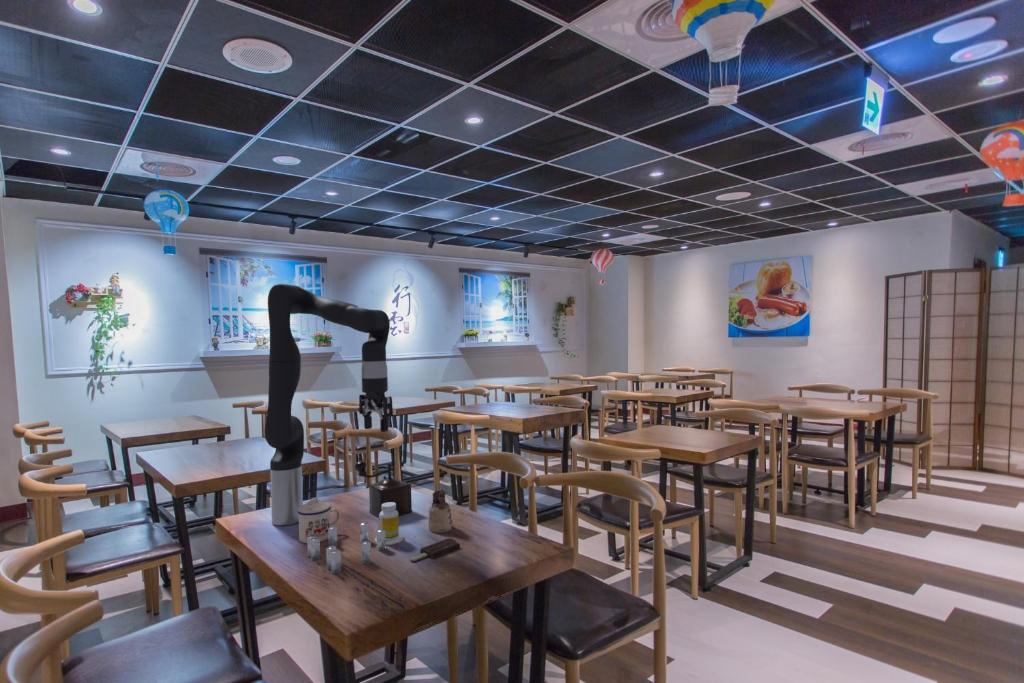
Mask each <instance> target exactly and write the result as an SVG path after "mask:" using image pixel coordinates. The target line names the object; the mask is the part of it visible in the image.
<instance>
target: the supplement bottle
mask: <svg viewBox="0 0 1024 683" xmlns="http://www.w3.org/2000/svg"><path fill="white" fill-rule="evenodd" d="M381 509H382V511H381V512H380V514H379V518H378V519H379V520H378V524H379V527H378V530H379V529H385V530H386V541H391V540H394V539H396V538H398V536H399V533H400V530H399V516H398V511H397V510H395V509H396V503H394V502H387V503H383V504H382V508H381Z"/></svg>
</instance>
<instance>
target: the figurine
mask: <svg viewBox="0 0 1024 683" xmlns="http://www.w3.org/2000/svg"><path fill="white" fill-rule="evenodd" d="M451 509H452V508H451V506H450V504H449V503H448V502H446V490H444V489H443V488H438V489H436V490H434V492H432V502H431V506H430V507H429V511H428V512H429V513H428V514H429V515H428V530H429V532H432V533H436V534H437V533H438V534H441V533H448V532H450V531H452V529H453V518H452V517H453V516H452V511H451Z"/></svg>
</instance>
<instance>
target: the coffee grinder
mask: <svg viewBox="0 0 1024 683" xmlns="http://www.w3.org/2000/svg"><path fill="white" fill-rule="evenodd" d="M353 466H354V470H355V471H357V472H358V477H363V478H366V479H371V478H376V477H379V476H381V475H383V474H386V473H387V472H388V476H387V477H386V476H385V475H384V476H383V479H382V480H380V481H377V482H376V483H371V484H369V487H368V491H369V492H368V493H369V494H368V495H369V496H368V497H369V510H368V512H369V513H370V514H371V515H373V516H375V517H376V518H378V519H379V514H380V512H381V511H382V509H381V508H382V504H383V503H387V502H394V503H396V509H395V510H397V511H398V517H401V516H405V515H407V514H411V513H412V512H413V510H412V508H413V505H412V504H413V503H412V485H411V484H410V483H408V482H405V481H403V480H400V479H397V478H394V477H392V470H393V468H392V463H391V462H388V463H387V467H386V469H384V470H382V471H379V472H376V473H373V474H369V475H368V474H367V473H368V472H367V471H366V470H367V469H366V468H367V463H366V461H364V460H359V461H356V463H354V465H353Z"/></svg>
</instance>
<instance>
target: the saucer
mask: <svg viewBox="0 0 1024 683" xmlns="http://www.w3.org/2000/svg"><path fill="white" fill-rule="evenodd" d="M402 541H404V534H403V533H400V532H399V536H398V538H396V539H394V540H391V541H386V546H392V545H396V544H398V543H401V542H402ZM374 543H375V544H376V545H377V536H376V537H375V538H374Z"/></svg>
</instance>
